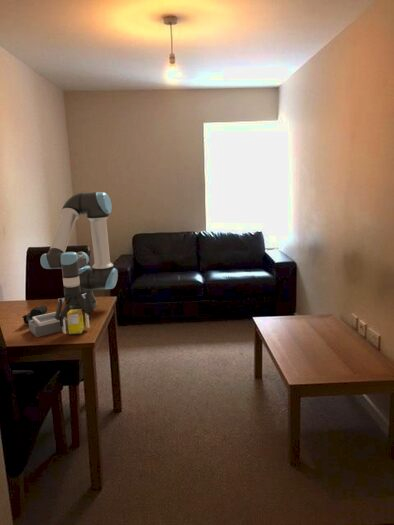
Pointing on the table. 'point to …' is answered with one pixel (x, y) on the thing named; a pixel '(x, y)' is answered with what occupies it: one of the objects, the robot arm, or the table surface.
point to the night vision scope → (34, 313)
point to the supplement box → (75, 322)
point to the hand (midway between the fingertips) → (76, 329)
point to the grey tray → (46, 324)
